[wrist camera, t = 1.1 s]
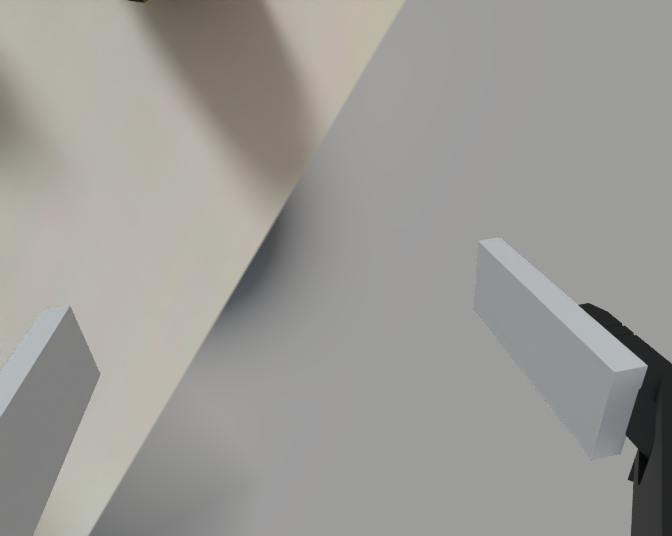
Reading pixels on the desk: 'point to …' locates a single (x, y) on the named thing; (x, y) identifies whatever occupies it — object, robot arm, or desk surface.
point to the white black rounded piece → (140, 1)
